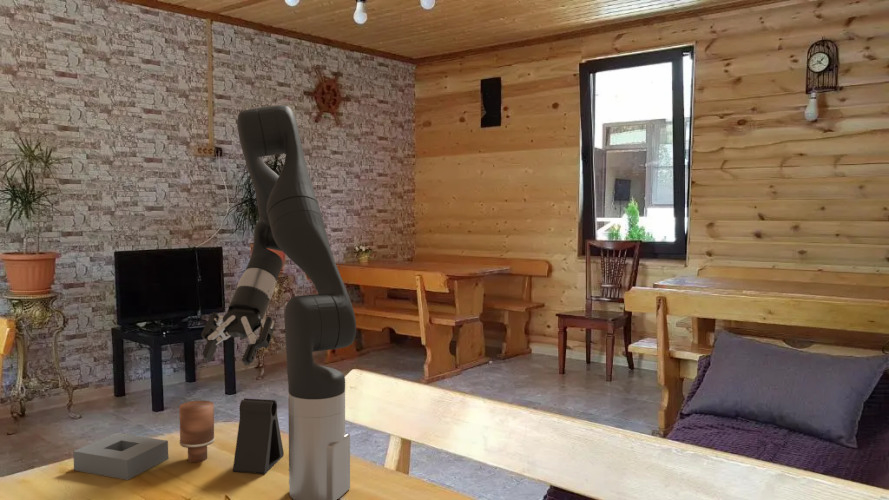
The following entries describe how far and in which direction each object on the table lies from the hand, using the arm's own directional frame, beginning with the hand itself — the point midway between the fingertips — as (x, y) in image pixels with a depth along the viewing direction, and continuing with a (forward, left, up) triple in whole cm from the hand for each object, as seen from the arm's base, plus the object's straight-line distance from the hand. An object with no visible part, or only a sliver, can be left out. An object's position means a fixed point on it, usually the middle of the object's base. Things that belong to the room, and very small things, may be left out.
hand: (226, 361), depth 138 cm
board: (+10, +18, -16) cm, 26 cm away
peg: (-1, +11, -16) cm, 19 cm away
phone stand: (-13, +9, -16) cm, 22 cm away
